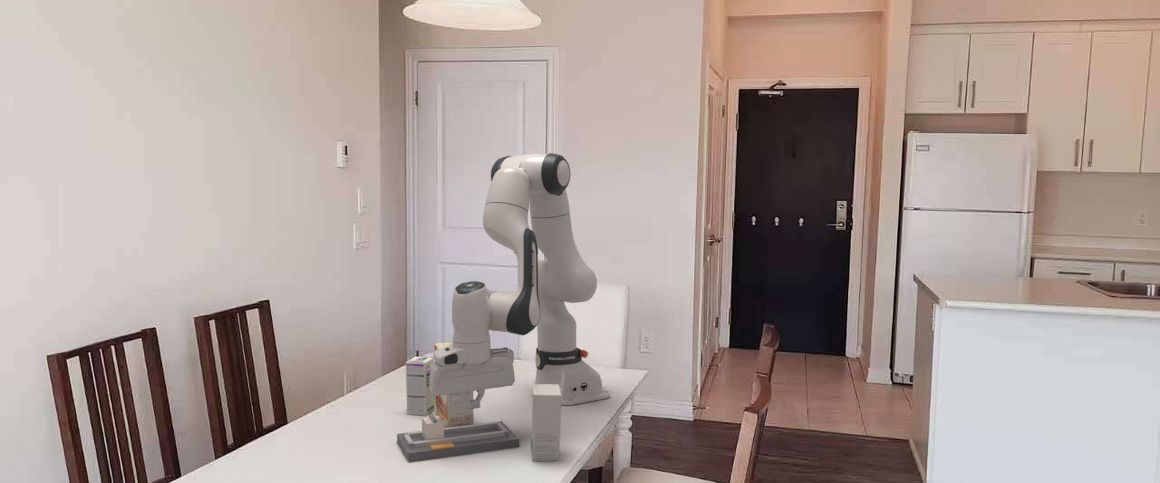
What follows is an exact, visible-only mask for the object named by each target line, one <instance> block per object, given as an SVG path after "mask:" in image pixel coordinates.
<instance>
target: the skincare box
mask: <svg viewBox="0 0 1160 483" xmlns="http://www.w3.org/2000/svg"><path fill="white" fill-rule="evenodd" d="M531 406H532V407H531V438H530V440H531V441H530V442H531V444H530V446H531V447H530V450H531V460H532V462H552V461H553V462H558V461H560V460H561V459H560V454H561V453H560V451H561V450H560V449H561V425H562V424H561V421H562V420H561V419H562V405H561V389H560V386H559V384H535V383H534V384H532V393H531Z"/></svg>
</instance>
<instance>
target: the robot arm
mask: <svg viewBox="0 0 1160 483" xmlns="http://www.w3.org/2000/svg"><path fill="white" fill-rule="evenodd" d="M570 180H571V168H570V165H569V162H568V161H567V159H566V158H565V157H564V156H563V155H561V154H558V153H551V152H549V153H537V152H536V153H527V154H518V155H513V156H512V155H507V156H503V157H499V158H498V159H497V160H495V161H494V163H493V165H492V167H491V170H490V181H491V182H490V185H489V188H488V192H487V195H486V199H485V204H484V210H483V215H482V226H483V229H484V231H485V233H486V234H487V236H488V237H489V238H490V239H492V240H493V241H494V242H496V243H498V244H499V245H501V246H503V247H506V248H507V249H510V250H511V251H513V253H514V254H515V256H516V257H517V258H516V259H517V288H516V291H514V292H508V291H507V292H506V291H497V290H491V289H489V288H487V285H486V284H485V283H484V282H482V281H477V280H475V281H474V280H473V281H466V282H462V283H459V284H458V285H457V286H455V288H454V289H453V295H452V302H451V324H452V326H453V335H452V342H453V343H452V344H450V345H447V346H445V347H443V348H441V349H438V350H436V351H433V354H432V356H433V357H432V358H434V363H433V364H432V366H431V369H430V378H429V388H430V391H431V392H432V393H433V394H434V395H435V396H440V395H447V394H454V393H462V396H463V397H464V399H465V400H466V405H467V409H473V410H475V409H480V408H481V401H482V399H483V398H484V396H485V393H486V392H485V390H490V389H497V388H504V387H511V386H513V385H514V384H515V382H516V376H515V369H514V368H515V367H514V362H515V353H514V351H513V349H511V348H508V346H506V347H501V348H499V347H498V348H497V347H496V348H491V335H490V331H493V332H500V333H501V332H502V333H509V334H513V335H519V336H526V335H528V334H530V333H531V332H532V331H534V330H535V329H536V328H537V329H536V331H537V334H536V335H537V347H536V349H535V367H536V373H535V380H534V384H559V386H560V389H561V406H573V405H578V404H583V403H589V402H594V401H598V400H605V399H609V398H610V397H611V392H610V391H609V389H607V388H606V387H604V386H603V382H602V379H601V375H600V373H599V372H598V371H597V370H595V369H594V368H593V367H591V366H590V365H589V364H588V363H586V362H585V361H584V360H583V358H584V359H587V358H588V357H589V352H588V351H587V350H584V349H580V348H579V347H577V322H576V319H575V317H574V316H573V315H572V314H571V313H570V312H569V310H568V308H567V305H566V303H569V304H570V303H571V304H574V303H576V304H577V303H584V302H585V303H586V302H588V301H590V300H592V298H593V297H594V295H595V293H596V291H597V286H598V278H597V276H596V273H595V272H594V270H592V268H590V266H588V265H587V263H585V261H584V259H583V258H582V256H581V254H580V252H579V250H578V248H577V245H576V242H575V239H574V233H573V226H572V221H571V220H572V219H571V212H570V211H571V210H570V203H569V197H568V193H567V190H566V189H567V187H568V186H569V184H570ZM529 214H530V224H531V225H530V226H531V229H530V226H529V221H528V220H529V219H528V217H529ZM538 250H539V251H540V252H541V253H542V254H543V256H544V257H545V258H544V259H539V254H538V253H539V252H538ZM469 391H473V392H474V391H476V393H477V395H476V397H475V399H474V398H473V400H469V398H468V397H467V396H469Z"/></svg>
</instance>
